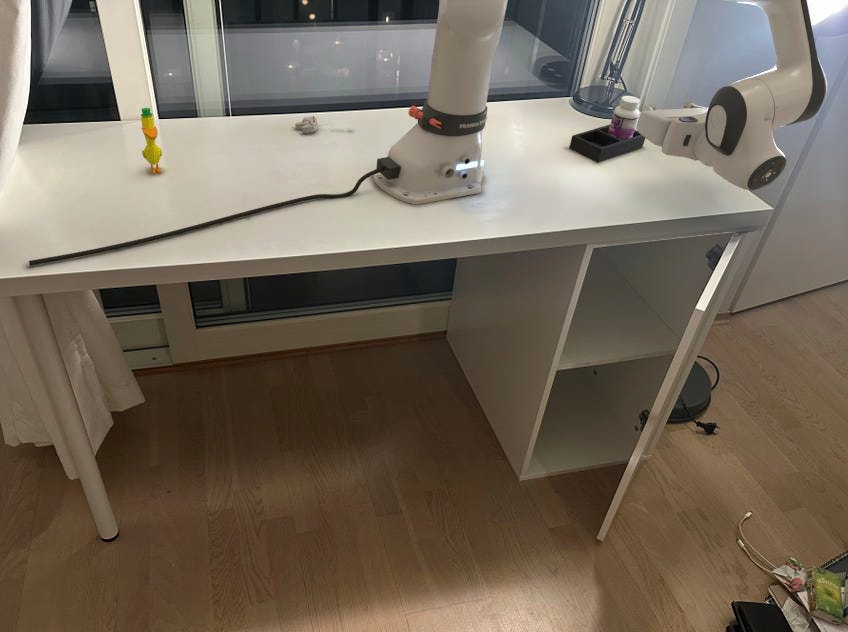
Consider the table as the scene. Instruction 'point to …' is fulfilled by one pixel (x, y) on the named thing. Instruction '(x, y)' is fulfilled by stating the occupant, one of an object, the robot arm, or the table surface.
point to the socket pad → (604, 144)
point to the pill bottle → (625, 118)
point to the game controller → (308, 124)
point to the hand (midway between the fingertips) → (666, 107)
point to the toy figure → (150, 140)
